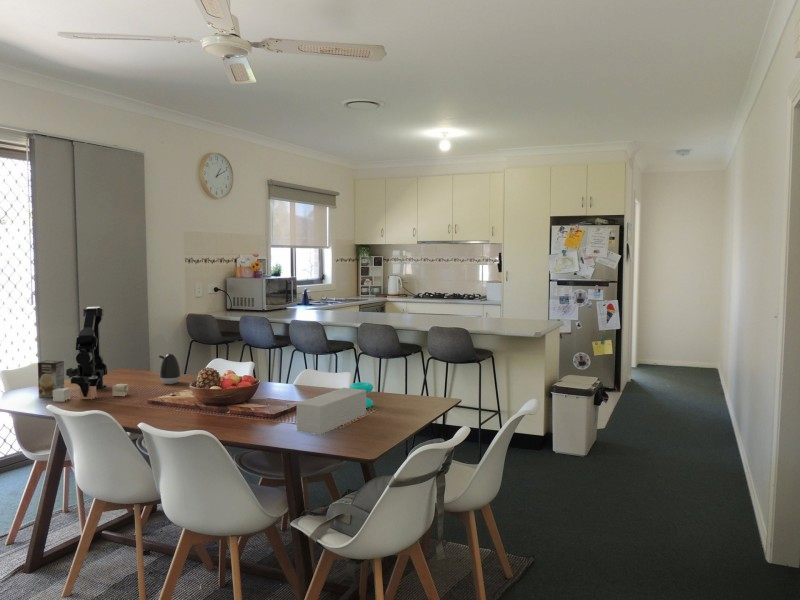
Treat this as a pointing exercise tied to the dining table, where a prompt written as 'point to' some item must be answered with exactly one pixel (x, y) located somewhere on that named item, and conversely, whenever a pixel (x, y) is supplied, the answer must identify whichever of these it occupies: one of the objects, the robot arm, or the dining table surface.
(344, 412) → the stack of papers
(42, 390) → the coffee box
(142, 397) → the dining table surface
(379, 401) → the dining table surface
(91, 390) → the terracotta block
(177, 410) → the dining table surface
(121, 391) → the maple block
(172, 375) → the pump dispenser
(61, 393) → the offwhite block
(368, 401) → the donuts
